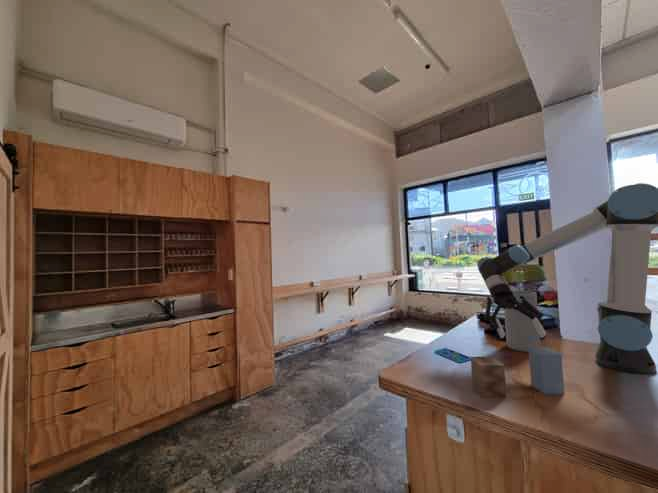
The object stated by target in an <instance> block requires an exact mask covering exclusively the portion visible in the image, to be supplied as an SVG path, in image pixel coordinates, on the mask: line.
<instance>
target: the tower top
mask: <svg viewBox="0 0 658 493" xmlns="http://www.w3.org/2000/svg"><path fill="white" fill-rule="evenodd" d="M470 357H471V361H470V365H471V374H472V373H473V374H474V375H475V376H476V377H477V378H478V379H479V380H480V381H481V382H505V383H506V373H505V365H504V363H502V362H501V361H499V360H498V359H496V358H495V357H494V356H470Z"/></svg>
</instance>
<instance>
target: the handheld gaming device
mask: <svg viewBox="0 0 658 493" xmlns="http://www.w3.org/2000/svg"><path fill="white" fill-rule="evenodd" d="M434 353H435V354H436V355H439V356H441V357H442V358H445V359H448V360H450V361H453V362H455V363H457V364H464V363H467V362H471V357H472V356H469V355H466V354H463V353H461V352H459V351H458V352H457V351H456V350H453V349H450V348H447V347H444V348H439V349H436V350H434Z"/></svg>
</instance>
